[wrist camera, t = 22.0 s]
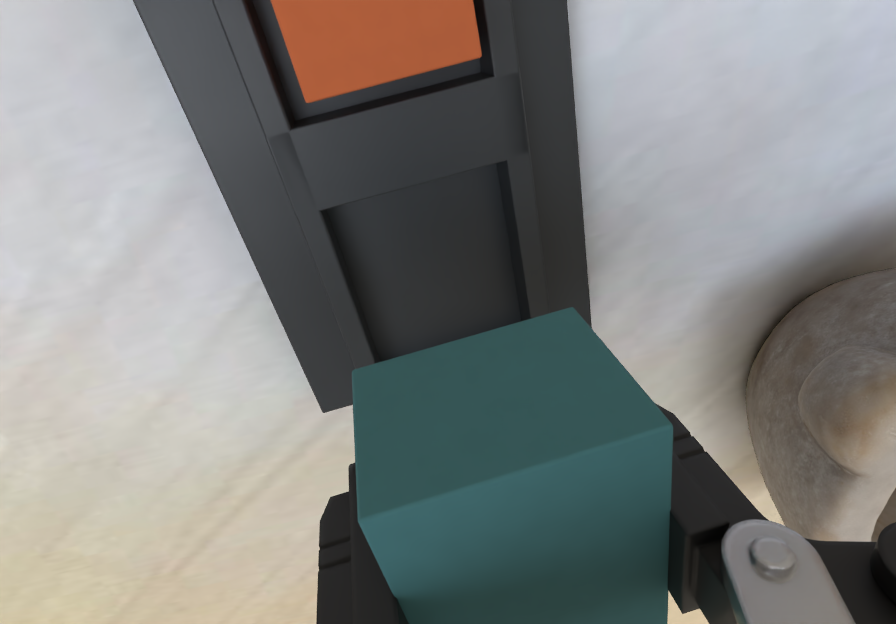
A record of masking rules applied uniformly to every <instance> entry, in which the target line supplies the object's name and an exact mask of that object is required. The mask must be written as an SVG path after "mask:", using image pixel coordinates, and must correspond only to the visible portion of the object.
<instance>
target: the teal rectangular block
mask: <svg viewBox="0 0 896 624" xmlns="http://www.w3.org/2000/svg"><path fill="white" fill-rule="evenodd" d="M352 393H353V417H354V441H355V465H356V489H357V513H358V523H359V525H360V527H361V529H362V531H363V533H364V535H365V537H366V539H367V542H368V544H369V546H370V548H371V550H372V552H373V554H374V556H375V558H376V560H377V562H378V564H379V566H380V569H381V571H382V573H383V575H384V577H385V579H386V581H387V583H388V585H389V587H390V589H391V591H392V594H393V595H394V597H396V598H397V600H398V602H399V604H400V606H401V608H402V610H403V613H404V615H405V617H406V619H407V621H408V623H409V624H667V616H668V559H669V525H670V510H671V485H672V453H673V425H672V423H671V422H670V421H669V420H668V419H667V417H666V416H665V415H664V414H663V413H662V411H661V410H660V409H659V408H658V407H657V406H656V404H655V403H654V402H653V401H652V400H651V398H650V397H649V396H648V395H647V394H646V393H645V391H644V390H643V389H642V388H641V387H640V385H639V384H638V383H637V382H636V381H635V380H634V378H633V377H632V376H631V375H630V374H629V372H628V371H627V370H626V369H625V368H624V366H623V365H622V364H621V363H620V362H619V361H618V359H617V358H616V357H615V356H614V355H613V353H612V352H611V351H610V350H609V349H608V348H607V346H606V345H605V344H604V343H603V342H602V340H601V339H600V338H599V337H598V336H597V335H596V333H595V332H594V331H593V330H592V329H591V327H590V326H589V325H588V324H587V323H586V321H585V320H584V319H583V318H582V317H581V316H580V314H579V313H578V312H577V311H576V310H575V308H573V307H570V308H566V309H563V310H559V311H556V312H552V313H549V314H545V315H542V316H538V317H535V318H532V319H528V320H525V321H521V322H518V323H514V324H511V325H507V326H504V327H500V328H497V329H493V330H490V331H486V332H483V333H479V334H476V335H472V336H469V337H466V338H462V339H459V340H455V341H452V342H448V343H445V344H441V345H438V346H434V347H431V348H427V349H424V350H420V351H417V352H413V353H410V354H407V355H403V356H400V357H396V358H393V359H389V360H386V361H382V362H379V363H375V364H372V365H368V366H365V367H361V368H358V369H354V370H353V371H352Z"/></svg>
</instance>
